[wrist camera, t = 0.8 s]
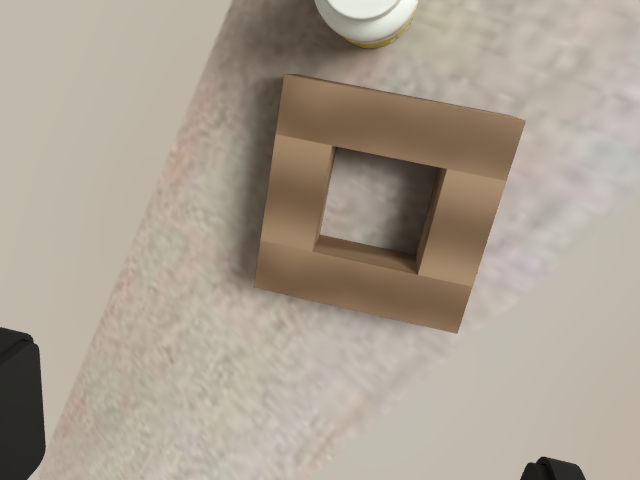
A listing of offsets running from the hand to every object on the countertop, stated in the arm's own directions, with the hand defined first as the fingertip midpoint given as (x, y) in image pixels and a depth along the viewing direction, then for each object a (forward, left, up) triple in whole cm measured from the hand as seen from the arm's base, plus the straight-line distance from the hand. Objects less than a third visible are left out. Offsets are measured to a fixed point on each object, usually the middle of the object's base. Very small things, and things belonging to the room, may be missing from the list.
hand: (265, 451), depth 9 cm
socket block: (+1, +2, -26) cm, 26 cm away
